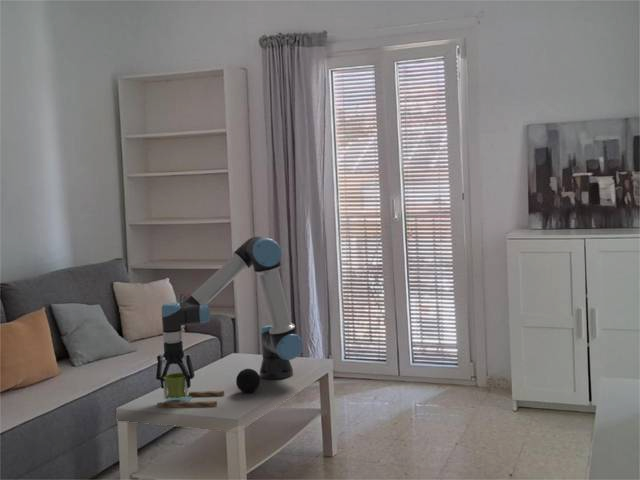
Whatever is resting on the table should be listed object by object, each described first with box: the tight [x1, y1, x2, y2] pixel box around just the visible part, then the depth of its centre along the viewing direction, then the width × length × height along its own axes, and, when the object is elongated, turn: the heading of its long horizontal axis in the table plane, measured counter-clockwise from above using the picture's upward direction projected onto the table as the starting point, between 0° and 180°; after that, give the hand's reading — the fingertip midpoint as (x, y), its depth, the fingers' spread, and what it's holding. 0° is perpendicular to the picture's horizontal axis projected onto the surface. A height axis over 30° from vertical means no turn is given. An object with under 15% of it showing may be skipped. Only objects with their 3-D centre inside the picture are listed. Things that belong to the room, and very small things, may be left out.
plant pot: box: [163, 372, 186, 398], centre depth 301 cm, size 9×9×9 cm
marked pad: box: [163, 396, 193, 403], centre depth 302 cm, size 10×10×1 cm
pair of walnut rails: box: [156, 390, 225, 409], centre depth 301 cm, size 24×16×2 cm, turn 85°
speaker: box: [235, 368, 261, 394], centre depth 309 cm, size 10×10×10 cm
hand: (176, 395), depth 301 cm, fingers closed on plant pot, 8 cm apart
